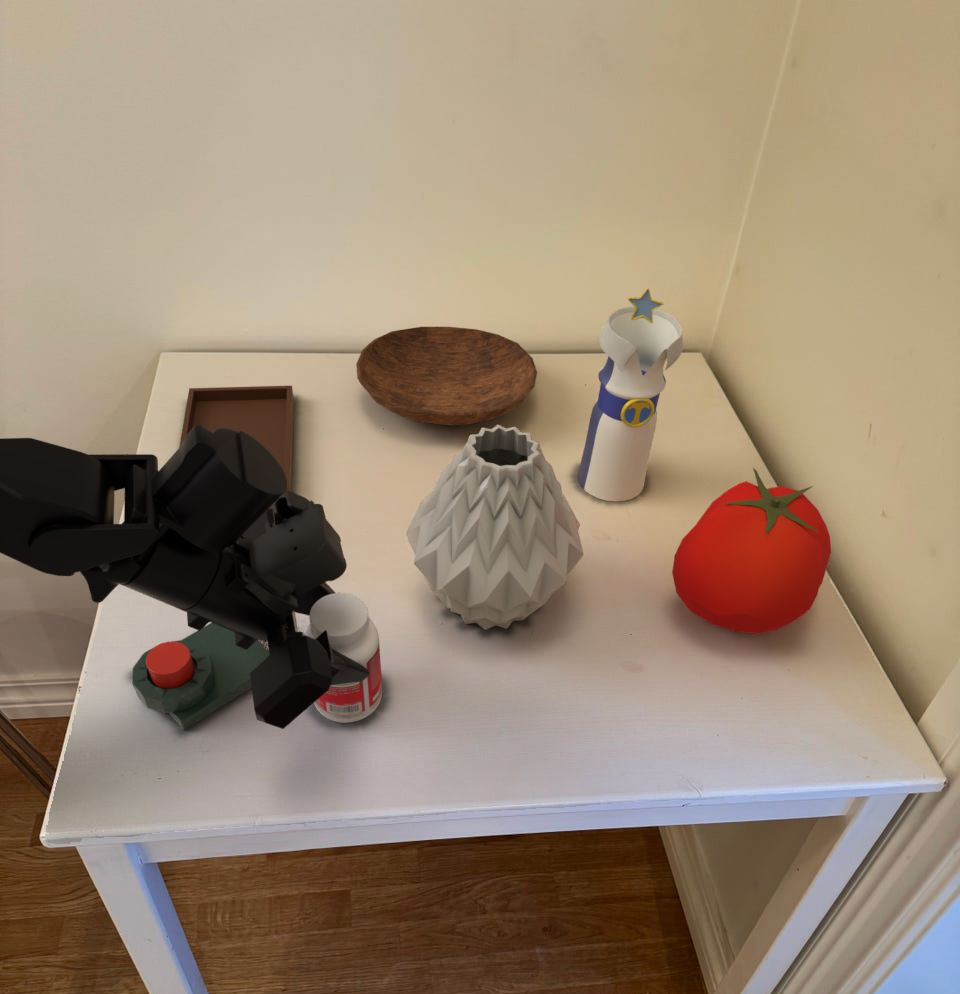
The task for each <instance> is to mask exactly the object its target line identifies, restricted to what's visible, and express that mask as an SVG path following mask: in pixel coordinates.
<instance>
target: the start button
mask: <svg viewBox="0 0 960 994" xmlns="http://www.w3.org/2000/svg"><path fill="white" fill-rule="evenodd" d="M152 648H153V649H152ZM152 648H151V649H152V650H150V649H149V650H150V652H149V653H148V655H147V657H146V665H147V668H148V671H149V673H150V676H151V678H152V681H153V682H154V684H156V685H157V686H158V687H161V688H164V689H172V688H178V687H180V686H182V685H184V684H186V683H187V682H188V681H189V680H190V679H191V678H192V677H193V674H194V671H195V668H194V664H193V661H192V658H191V655H190V651H189V649H188V648H187V647H186V646H185V645H184V644H182V643H179V642H172V641H165V642H161V643H159V644H157V645H155V646H154V647H152Z"/></svg>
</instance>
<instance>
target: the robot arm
mask: <svg viewBox="0 0 960 994" xmlns="http://www.w3.org/2000/svg"><path fill="white" fill-rule="evenodd" d="M123 489H124V501H123V502H124V504H123V505H124V506H123V507H124V508H123V511H124V512H123V513H124V514H123V515H124V516H123V522H122V523H115V491H120V490H123ZM286 489H287V479H286V476H285V474H284V471H283V469H282V468H281V466H280V464H279V463H278V462H277V460H276V459H275V458H274V456H273V455H272V454H271V453H270V452H269V451H268V450H267V449H266V448H265V447H264V446H263V445H262V444H260V443H259V442H258V441H257V440H255V439H254V438H253V437H251V436H250V435H248V434H247V433H245V432H243V431H239V432H237V431H234V430H231V429H226V428H221V429H217V430H216V431H214V432H211V431H209V430H208V429H206V428H204V427H203V426H201V425H195V426H194V427H193V428H192V429H191V431H190V432H189V433H188V434H187V435H186V436H185V438H184V440H183V442H182V444H181V446H180V445H179V447H178V449H177V450H175V452H174V453H173V455H172V456H170V458H169V459H168V460H167V461H166V462H165V463H164V465H162V467H161V468H160V469H159V459H158V456H156V455H155V454H153V453H152V454H149V453H147V454H146V453H144V454H142V453H141V454H139V453H138V454H137V453H136V454H132V453H130V454H127V453H126V454H125V453H124V454H123V453H121V454H118V453H117V454H111V453H110V454H108V453H107V454H104V453H103V454H88V453H85V452H83V451H79V450H76V449H73V448H68V447H65V446H61V445H58V444H54V443H51V442H47V441H43V440H39V439H36V438H33V437H7V438H0V554H2V555H4V556H5V557H8V558H10V559H12V560H14V561H16V562H18V563H21V564H23V565H26V566H27V567H29V568H32V569H33V570H36V571H38V572H41V573H43V574H48V575H51V576H52V575H53V576H57V577H73V576H74V575H75V573H80V574H81V575H82V576H83V578H84V579H85V581H86V583H87V587H88V589H89V594H90V599H91V601H92V602H93V603H95V604H100V603H102V602H104V600H106V598H108V596H110V594H111V593H112V592H113V591H114V590H115V589H116V588H117V587H118V586H119V585H120V586H123V587H125V588H128V589H130V590H132V591H135V592H138V593H140V594H142V595H145V596H147V597H150V598H151V599H154V600H156V601H159V602H162V603H163V604H166V605H168V606H171V607H174V608H176V609H178V610H180V611H182V612H186V619H187V621H186V622H187V627H189V628H192V629H194V630H196V631H198V630H199V631H200V630H201V629H202V628H203V627H205V626H207V625H208V624H210V623H214V624H216V625H219V626H221V627H223V628H226V629H228V630H231V631H233V632H234V634H235V643H236V646H238V647H241V648H243V649H246V650H247V649H248V648H249V647H250V646H252V645H253V644H254V643H255V642H256V641H259V642H263V644H266V645H267V646H268V651H269V656H268V657H267V658H266V659H265V660H264V661H263V662H261V663H260V664H259V665H258V666H257V667H256V668H255V669H254V670H253V671H252V672H251V673H250V679H251V687H252V688H251V694H252V703H253V710H254V714H255V718H256V721H257V722H258V721H259V722H261V723H264V724H266V725H270V726H273V727H276V728H279V729H281V730H284V729H286V727H287V726H289V725H290V724H291V723H292V722H294V720H296V719H297V718H298V717H300V715H302V713H304V712H305V711H306V710H307V709H309V708H310V707H311V706H312V705H313V704H314V702H315V701H316V700H318V699H319V698H320V697H321V696H322V695H323V694H325V693H326V692H327V691H328V690H329V688H330V685H337V684H345V683H353V682H360V681H363V680H364V679H366V678H367V677H368V676H369V675H370V673H369V670H368V669H366V668H365V667H363V666H362V665H361V664H359V663H357V662H356V661H354V660H352V659H350V658H348V657H346V656H345V655H343V654H341V653H339V652H337V651H336V650H334V649H332V648H331V647H330V643H329V638H328V633H327V631H326V630H325V631H324V632H323V633H321V634H320V635H319V636H318V637H317V638H316V639H313V638H311V637H308V636H306V635H305V633H304V632H302V631H299V627H298V621H297V617H296V614H301V615H303V616H304V615H305V616H309V615H310V610H311V608H312V607H313V605H314V604H315V603H316V602H317V601H318V600H319V599H321V598H322V597H324V596H327V595H329V594H334V593H336V591H335V590H334V589H333V588H332V587H331V586H330V585H329V584H328V582H334V581H335V580H337V579H339V578H340V577H342V576H343V574H344V573H345V572H346V570H347V559H346V558H345V555H344V551H343V546H342V543H341V542H342V540H341V536H340V535H339V533H338V532H337V530H336V529H334V527H333V526H332V525H331V523H330V522H329V521H328V519H327V518H326V512H325V509H324V506H323V505H322V504H320V503H315V502H314V501H313V500H309V499H308V498H306V497H304V496H302V495H300V494H298V493H296V492H293V491H292V490H291V491H289V490H286ZM271 505H272V509H268V508H269V507H270V506H271Z"/></svg>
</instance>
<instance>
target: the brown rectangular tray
mask: <svg viewBox="0 0 960 994" xmlns="http://www.w3.org/2000/svg"><path fill="white" fill-rule="evenodd" d="M294 401H295V400H294V391H293V385H260V386H258V385H257V386H224V387H222V386H221V387H191V388H190V387H189V388H188V394H187V399H186V405H185V411H184V418H183V423H182V429H181V430H182V431H181V435H180V441H179V447H180V446H181V444H182V442H183V440H184V438H185V436H186V435H187V434H188V433H189V432H190V431H191V429H192V428H193V427H194V426H195V425H201V426H203V427H204V428H206V429H208V430H209V431H211V432H214V431H216V430H217V429H221V428H226V429H231V430H234V431H237V432H239V431H243V432H245V433H247V434H248V435H250V436H251V437H253V438H254V439H255V440H257V441H258V442H259V443H260V444H262V445H263V446H264V447H265V448H266V449H267V450H268V451H269V452H270V453H271V454H272V455H273V456H274V458H275V459H276V460H277V462H278V463H279V464H280V466H281V468H282V469H283V471H284V474H285V476H286V479H287V489H286V490H289V491H291V492H292V482H293V446H294V445H293V444H294V443H293V442H294V441H293V440H294V407H295V405H294V404H295V403H294ZM268 509H272V505H271V506H270V507H269V508H268Z"/></svg>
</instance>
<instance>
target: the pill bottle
mask: <svg viewBox="0 0 960 994" xmlns="http://www.w3.org/2000/svg"><path fill="white" fill-rule="evenodd" d="M308 616H309V617H308V618H309V625H308V626H307V629H306V630H305V633H304V634H305V635H306V636H308V637H311V638H313V639H316V638H317V637H318V636H319V635H320V634H321V633H323V632H324V631H325V630H326V631H327V633H328V638H329V643H330V647H331V648H332V649H334V650H336V651H337V652H339V653H341V654H343V655H345V656H346V657H348V658H350V659H352V660H354V661H356V662H357V663H359V664H361V665H362V666H363V667H365V668H366V669H368V670H369V673H370V675H369V676H368V677H367V678H366V679H364V680H363V681H360V682H353V683H345V684H337V685H330V688H329V690H328V691H327V692H326V693H325V694H323V695H322V696H321V697H320V698H319V699H318V700H316V701H315V702H314V703H313V704H314V707H315V709H316V710H317V711H318V713H319V714H320V715H322V716H323V717H324V718H325V719H327V720H330V721H332V722H336V723H341V724H345V723H346V724H347V723H354V722H359V721H361V720H363V719H366V718H367V717H369V716H370V715H371V714H372V713H374V712H375V710H376V709H377V708H378V707H379V705H380V703H381V701H382V697H383V677H382V662H381V661H382V660H381V648H380V647H381V645H380V637H379V631H378V628H377V627H376V624H375V622H374V621H372V620H371V619H370V616H369V609H368V606H367V604H366V603H365V601H363V600H362V599H361V598H360V597H358V596H357V595H354V594H352V593H347V592H335V593H334V594H329V595H327V596H324V597H322V598H321V599H319V600H318V601H317V602H316V603H315V604H314V605H313V607H312V608H311V610H310V615H308Z"/></svg>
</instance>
